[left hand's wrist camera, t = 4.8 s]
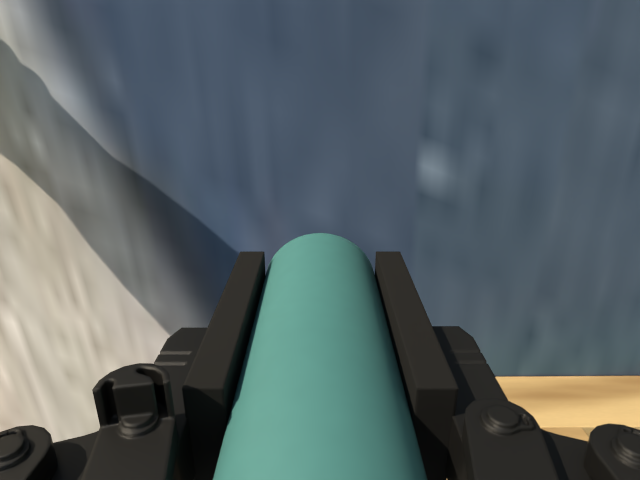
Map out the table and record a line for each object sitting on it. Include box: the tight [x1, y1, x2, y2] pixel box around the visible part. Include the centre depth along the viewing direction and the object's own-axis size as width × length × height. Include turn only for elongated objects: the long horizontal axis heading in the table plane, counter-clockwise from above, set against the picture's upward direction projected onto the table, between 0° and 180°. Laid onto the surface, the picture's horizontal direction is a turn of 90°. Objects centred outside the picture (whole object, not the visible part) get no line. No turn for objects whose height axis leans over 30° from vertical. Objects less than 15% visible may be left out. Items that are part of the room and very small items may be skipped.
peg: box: [213, 233, 427, 480], centre depth 10 cm, size 4×4×10 cm
